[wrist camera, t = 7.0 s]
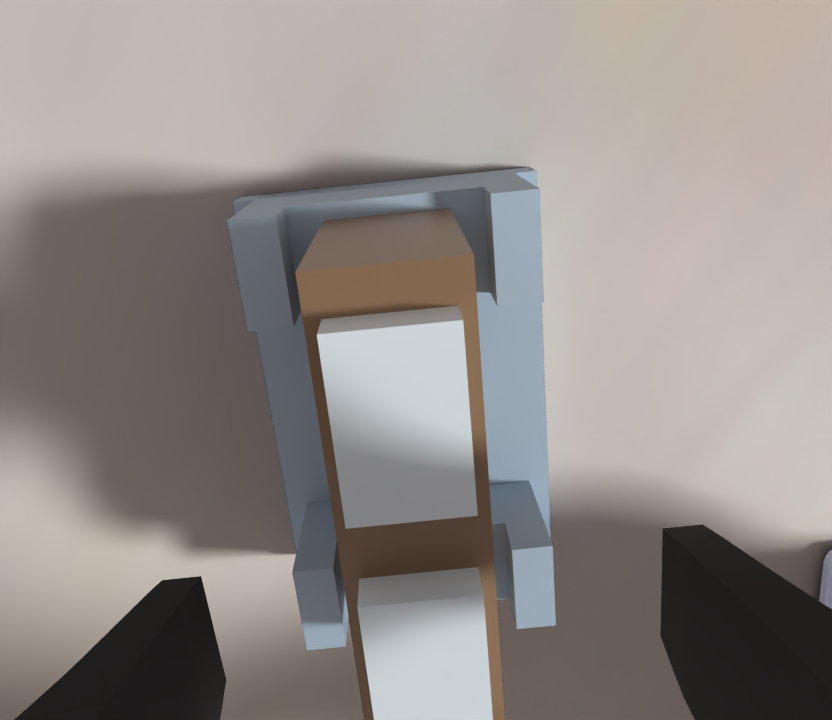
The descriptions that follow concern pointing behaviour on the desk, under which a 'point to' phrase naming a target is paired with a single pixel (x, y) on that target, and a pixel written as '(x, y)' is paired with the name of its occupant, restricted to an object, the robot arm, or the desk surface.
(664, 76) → the desk surface
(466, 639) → the tan brown bar
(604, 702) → the desk surface
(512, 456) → the display stand
